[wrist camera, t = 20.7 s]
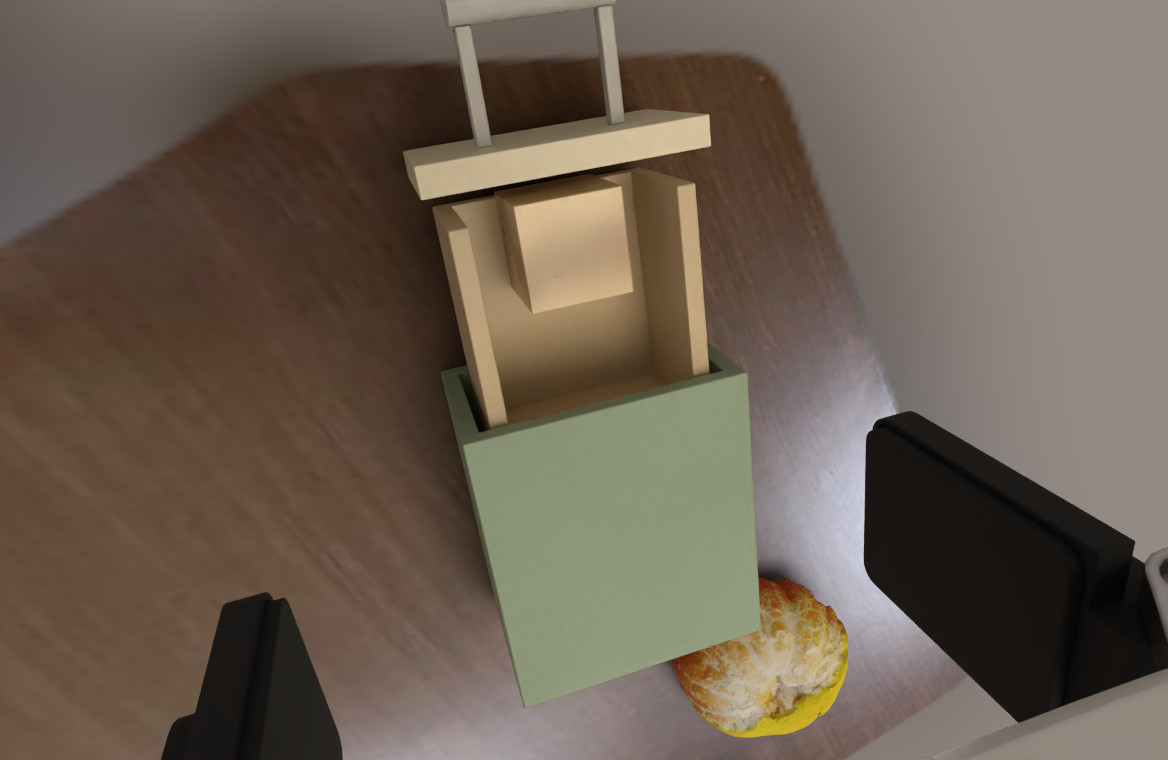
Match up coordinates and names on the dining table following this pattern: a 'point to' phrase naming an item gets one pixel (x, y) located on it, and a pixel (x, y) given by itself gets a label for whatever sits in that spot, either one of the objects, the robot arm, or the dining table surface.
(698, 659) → the fruit
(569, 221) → the block
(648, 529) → the cabinet
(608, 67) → the drawer
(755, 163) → the dining table surface
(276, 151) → the dining table surface
